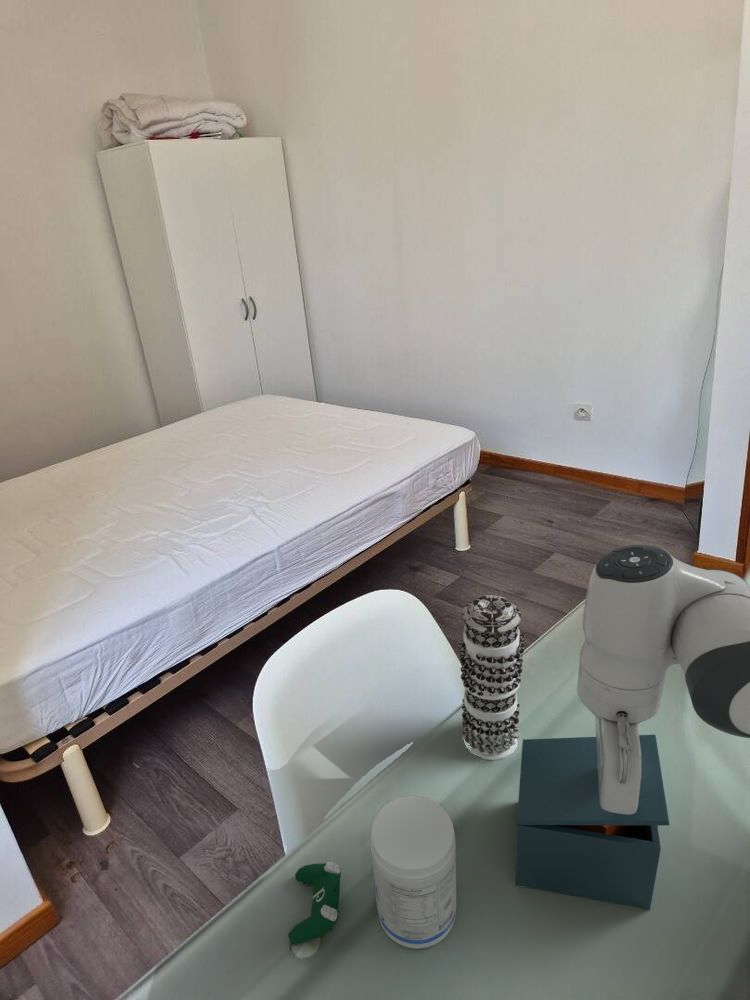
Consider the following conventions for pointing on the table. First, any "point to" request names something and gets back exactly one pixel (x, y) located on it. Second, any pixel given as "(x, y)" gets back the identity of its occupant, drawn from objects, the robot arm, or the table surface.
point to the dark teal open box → (589, 863)
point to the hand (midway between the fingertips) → (608, 773)
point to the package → (604, 829)
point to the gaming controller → (318, 901)
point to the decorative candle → (491, 676)
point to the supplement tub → (414, 871)
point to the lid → (582, 785)
